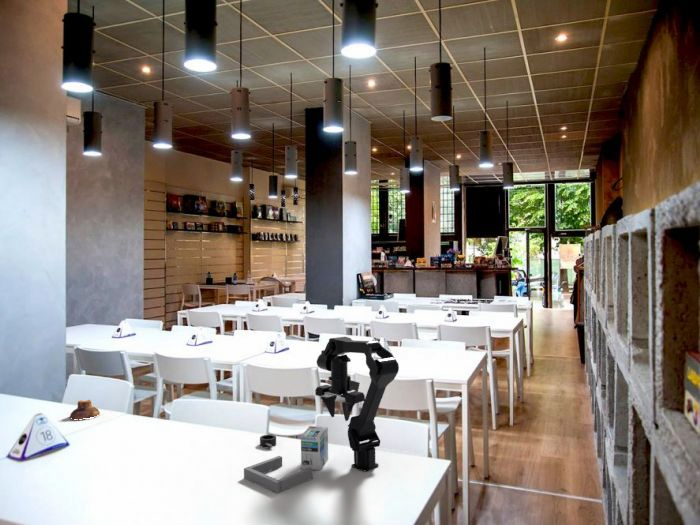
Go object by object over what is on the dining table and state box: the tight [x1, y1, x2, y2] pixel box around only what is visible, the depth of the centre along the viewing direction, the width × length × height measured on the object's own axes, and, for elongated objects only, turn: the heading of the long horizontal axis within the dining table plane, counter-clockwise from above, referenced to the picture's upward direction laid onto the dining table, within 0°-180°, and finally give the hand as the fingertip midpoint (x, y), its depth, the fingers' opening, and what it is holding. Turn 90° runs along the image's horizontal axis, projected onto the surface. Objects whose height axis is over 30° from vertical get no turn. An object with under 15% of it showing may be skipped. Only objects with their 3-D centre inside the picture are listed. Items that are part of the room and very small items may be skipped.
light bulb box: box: [300, 425, 329, 471], centre depth 176 cm, size 11×7×11 cm, turn 168°
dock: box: [243, 455, 314, 494], centre depth 164 cm, size 16×14×3 cm
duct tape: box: [259, 434, 277, 448], centre depth 194 cm, size 8×10×3 cm
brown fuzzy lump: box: [69, 399, 101, 420], centre depth 232 cm, size 12×12×7 cm
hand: (339, 418), depth 184 cm, fingers open, 6 cm apart
